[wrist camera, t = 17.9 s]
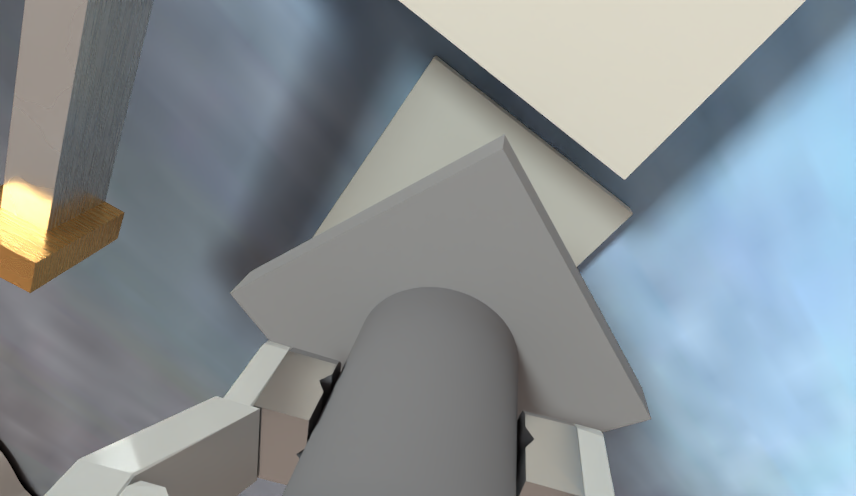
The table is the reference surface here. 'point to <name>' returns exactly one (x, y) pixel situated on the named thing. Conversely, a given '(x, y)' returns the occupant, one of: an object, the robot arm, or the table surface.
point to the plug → (442, 335)
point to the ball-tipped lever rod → (66, 133)
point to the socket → (609, 60)
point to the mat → (462, 134)
